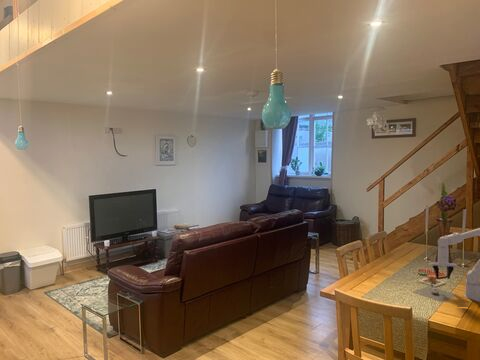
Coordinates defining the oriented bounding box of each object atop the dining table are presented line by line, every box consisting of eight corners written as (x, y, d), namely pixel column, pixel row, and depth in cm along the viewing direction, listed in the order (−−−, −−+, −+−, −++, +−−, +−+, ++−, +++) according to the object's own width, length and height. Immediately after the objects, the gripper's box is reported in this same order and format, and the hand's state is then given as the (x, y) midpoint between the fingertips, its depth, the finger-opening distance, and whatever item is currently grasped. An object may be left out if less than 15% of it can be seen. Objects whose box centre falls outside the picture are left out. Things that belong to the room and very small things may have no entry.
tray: (445, 285, 234) (445, 282, 234) (435, 288, 228) (435, 285, 228) (428, 280, 243) (428, 277, 243) (419, 283, 237) (419, 280, 237)
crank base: (458, 296, 215) (458, 294, 215) (441, 303, 206) (441, 301, 205) (428, 287, 230) (428, 285, 230) (411, 293, 221) (411, 291, 221)
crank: (439, 294, 215) (439, 287, 215) (432, 294, 216) (432, 286, 216) (434, 288, 226) (434, 281, 225) (427, 287, 226) (427, 280, 226)
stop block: (434, 282, 237) (434, 275, 237) (436, 284, 233) (436, 277, 233) (427, 282, 238) (427, 274, 238) (429, 284, 234) (429, 276, 234)
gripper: (454, 255, 224) (453, 276, 225) (428, 254, 227) (428, 275, 228) (458, 258, 217) (457, 280, 218) (431, 257, 220) (431, 279, 221)
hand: (442, 278), depth 223 cm, fingers open, 5 cm apart
